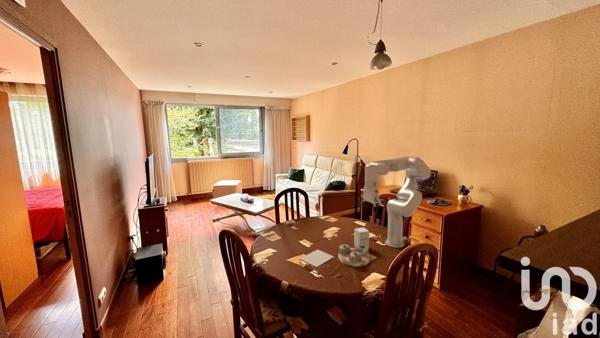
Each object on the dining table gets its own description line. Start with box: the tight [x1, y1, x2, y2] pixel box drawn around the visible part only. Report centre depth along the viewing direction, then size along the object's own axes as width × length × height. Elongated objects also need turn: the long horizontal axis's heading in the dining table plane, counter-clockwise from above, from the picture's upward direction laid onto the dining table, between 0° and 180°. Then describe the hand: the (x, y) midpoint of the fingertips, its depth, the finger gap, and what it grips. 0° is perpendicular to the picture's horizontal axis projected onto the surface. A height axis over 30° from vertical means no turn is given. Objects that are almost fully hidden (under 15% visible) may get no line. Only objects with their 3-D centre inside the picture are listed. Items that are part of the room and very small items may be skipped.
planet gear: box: [355, 245, 369, 256], centre depth 149 cm, size 7×7×4 cm
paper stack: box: [299, 249, 335, 268], centre depth 142 cm, size 23×25×1 cm
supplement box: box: [353, 227, 370, 250], centre depth 161 cm, size 7×7×13 cm
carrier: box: [338, 244, 371, 268], centre depth 147 cm, size 19×19×7 cm
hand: (370, 210), depth 150 cm, fingers open, 9 cm apart
